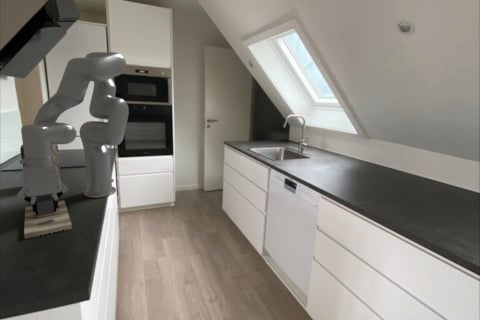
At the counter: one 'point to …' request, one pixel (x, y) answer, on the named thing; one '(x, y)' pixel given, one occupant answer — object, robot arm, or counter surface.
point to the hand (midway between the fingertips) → (46, 211)
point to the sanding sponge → (45, 205)
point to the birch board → (46, 221)
